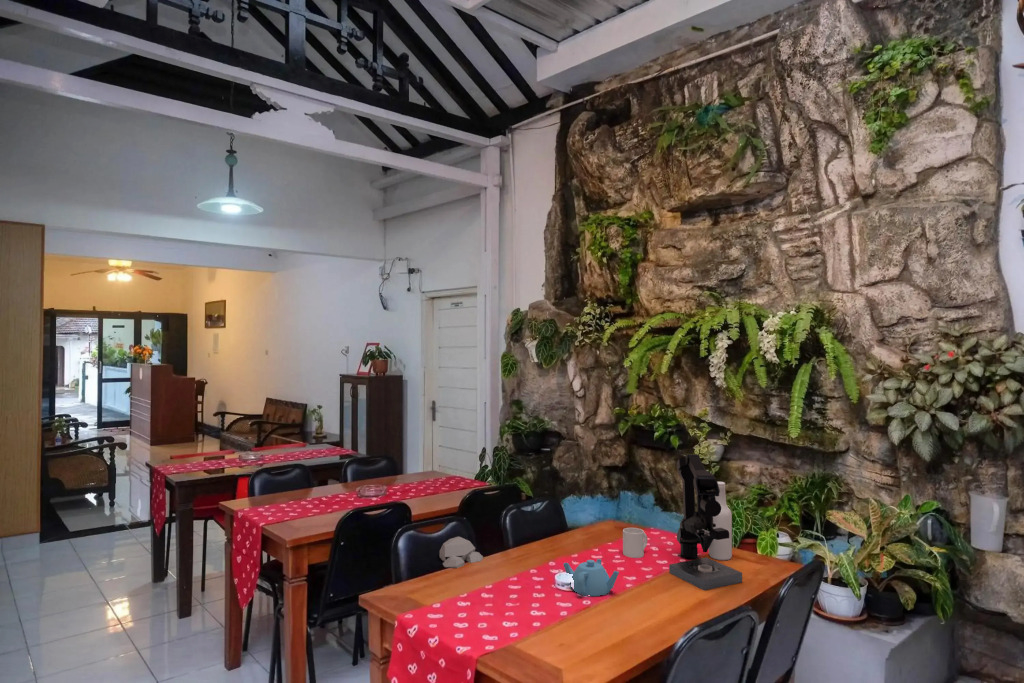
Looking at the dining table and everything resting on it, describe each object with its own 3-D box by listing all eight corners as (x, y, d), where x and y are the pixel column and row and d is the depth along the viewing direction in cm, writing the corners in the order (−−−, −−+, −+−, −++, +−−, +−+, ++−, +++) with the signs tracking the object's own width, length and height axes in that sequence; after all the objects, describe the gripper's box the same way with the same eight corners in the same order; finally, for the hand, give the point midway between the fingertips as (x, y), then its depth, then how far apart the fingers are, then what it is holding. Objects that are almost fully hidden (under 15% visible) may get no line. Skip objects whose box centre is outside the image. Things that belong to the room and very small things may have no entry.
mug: (639, 550, 259) (639, 525, 259) (654, 555, 252) (654, 529, 253) (618, 555, 253) (618, 529, 253) (633, 561, 246) (633, 534, 246)
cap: (694, 576, 229) (695, 565, 229) (705, 574, 231) (705, 563, 231) (704, 581, 224) (704, 570, 224) (715, 579, 226) (715, 568, 226)
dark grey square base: (669, 573, 232) (669, 564, 232) (706, 566, 240) (706, 557, 240) (703, 590, 216) (703, 580, 216) (742, 582, 223) (742, 572, 223)
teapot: (561, 586, 219) (561, 555, 220) (600, 581, 224) (600, 551, 224) (579, 603, 205) (579, 570, 205) (620, 597, 209) (620, 565, 210)
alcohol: (708, 559, 248) (708, 484, 248) (708, 552, 256) (708, 479, 256) (732, 561, 245) (732, 485, 246) (731, 554, 254) (731, 480, 254)
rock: (490, 562, 244) (490, 537, 244) (458, 577, 227) (458, 551, 228) (453, 553, 254) (454, 530, 254) (421, 568, 237) (421, 542, 238)
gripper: (670, 505, 233) (670, 547, 233) (706, 518, 216) (706, 563, 216) (693, 502, 238) (693, 543, 237) (730, 514, 221) (730, 558, 221)
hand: (705, 552), depth 228 cm, fingers closed
